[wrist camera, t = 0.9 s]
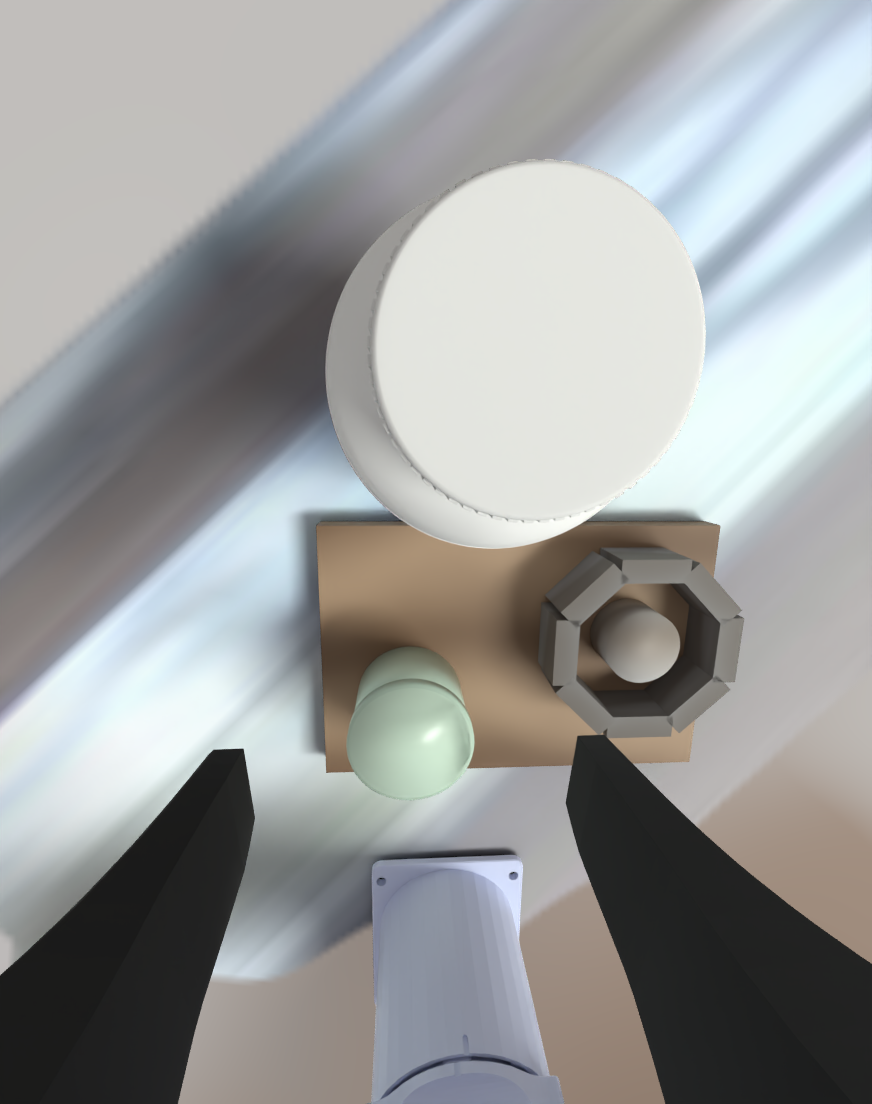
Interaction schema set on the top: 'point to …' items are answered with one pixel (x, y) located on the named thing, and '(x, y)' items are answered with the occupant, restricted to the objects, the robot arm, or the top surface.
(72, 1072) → the robot arm
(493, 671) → the stud board
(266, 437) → the top surface
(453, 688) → the cap
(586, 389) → the pill bottle
